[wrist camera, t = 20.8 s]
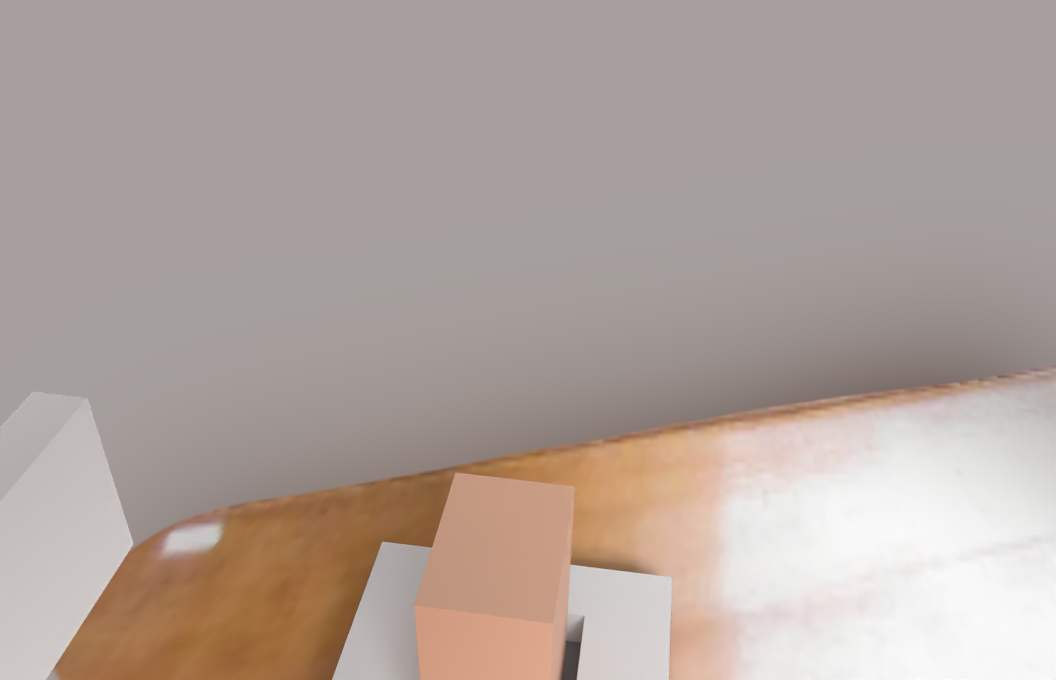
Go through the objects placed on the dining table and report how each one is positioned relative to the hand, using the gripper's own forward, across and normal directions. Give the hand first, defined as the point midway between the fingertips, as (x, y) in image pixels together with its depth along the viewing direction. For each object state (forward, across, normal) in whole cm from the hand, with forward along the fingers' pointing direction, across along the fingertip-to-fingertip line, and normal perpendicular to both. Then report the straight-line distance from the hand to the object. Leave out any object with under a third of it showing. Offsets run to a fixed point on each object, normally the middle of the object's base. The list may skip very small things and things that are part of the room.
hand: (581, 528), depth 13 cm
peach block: (+17, -4, -30) cm, 34 cm away
